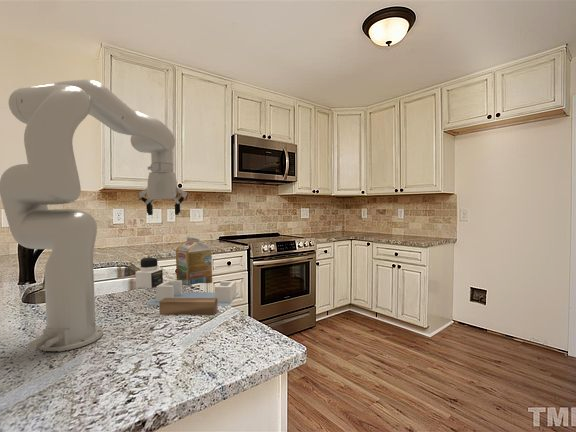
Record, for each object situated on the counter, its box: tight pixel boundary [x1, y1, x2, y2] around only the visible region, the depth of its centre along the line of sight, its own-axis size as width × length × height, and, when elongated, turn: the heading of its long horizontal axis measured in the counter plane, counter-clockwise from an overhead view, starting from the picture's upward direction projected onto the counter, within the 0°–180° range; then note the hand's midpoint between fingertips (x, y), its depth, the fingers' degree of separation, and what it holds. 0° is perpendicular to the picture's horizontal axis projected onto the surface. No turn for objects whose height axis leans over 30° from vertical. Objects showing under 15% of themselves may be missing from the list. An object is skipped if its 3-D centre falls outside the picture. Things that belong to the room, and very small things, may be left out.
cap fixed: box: [214, 280, 237, 303], centre depth 100 cm, size 7×5×5 cm
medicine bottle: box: [135, 256, 164, 289], centre depth 119 cm, size 7×7×12 cm
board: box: [144, 291, 239, 307], centre depth 101 cm, size 14×27×1 cm, turn 86°
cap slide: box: [155, 279, 183, 302], centre depth 102 cm, size 8×5×5 cm, turn 176°
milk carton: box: [175, 236, 213, 286], centre depth 125 cm, size 11×10×19 cm
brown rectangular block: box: [158, 298, 219, 316], centre depth 88 cm, size 4×16×5 cm, turn 86°
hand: (163, 214), depth 113 cm, fingers open, 9 cm apart
